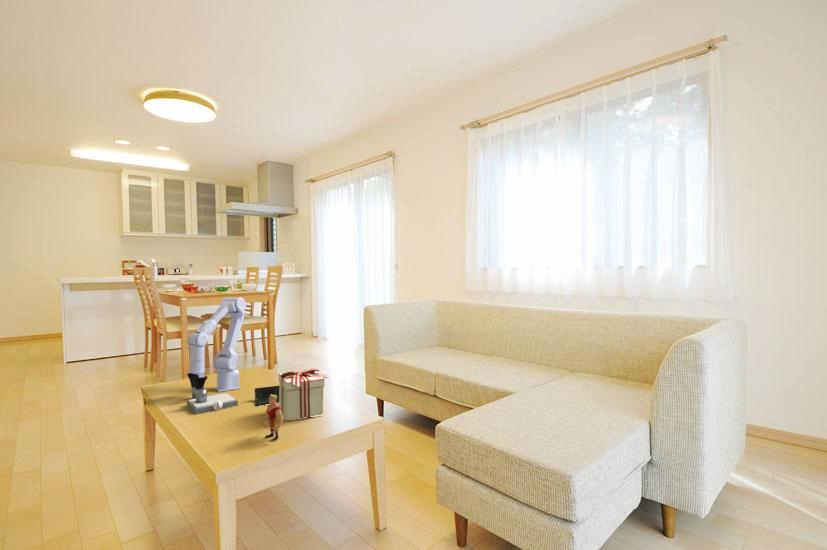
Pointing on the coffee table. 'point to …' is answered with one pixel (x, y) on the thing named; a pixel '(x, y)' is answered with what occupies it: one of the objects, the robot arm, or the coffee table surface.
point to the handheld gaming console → (265, 394)
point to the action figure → (273, 416)
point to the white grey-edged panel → (212, 403)
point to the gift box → (301, 394)
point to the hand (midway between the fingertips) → (197, 390)
